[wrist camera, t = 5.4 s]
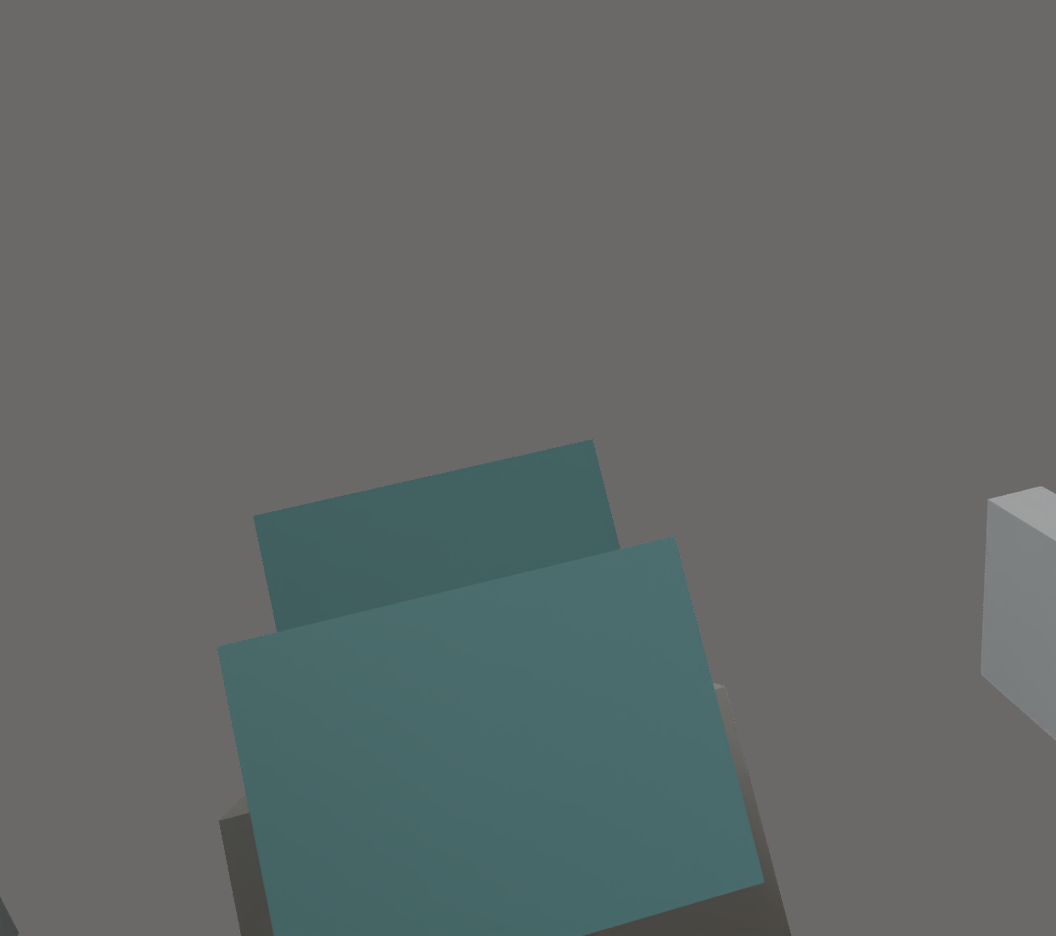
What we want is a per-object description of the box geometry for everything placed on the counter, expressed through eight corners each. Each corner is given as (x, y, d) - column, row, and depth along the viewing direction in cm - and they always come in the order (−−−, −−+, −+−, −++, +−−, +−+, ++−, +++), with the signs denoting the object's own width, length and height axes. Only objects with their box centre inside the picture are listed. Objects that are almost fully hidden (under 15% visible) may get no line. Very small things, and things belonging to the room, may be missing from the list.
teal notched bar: (764, 881, 8) (646, 427, 8) (291, 1022, 7) (193, 529, 8) (517, 670, 34) (491, 561, 34) (407, 698, 33) (382, 587, 33)
